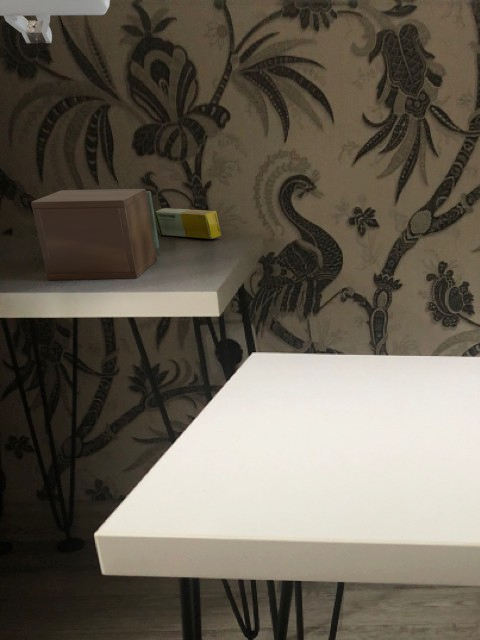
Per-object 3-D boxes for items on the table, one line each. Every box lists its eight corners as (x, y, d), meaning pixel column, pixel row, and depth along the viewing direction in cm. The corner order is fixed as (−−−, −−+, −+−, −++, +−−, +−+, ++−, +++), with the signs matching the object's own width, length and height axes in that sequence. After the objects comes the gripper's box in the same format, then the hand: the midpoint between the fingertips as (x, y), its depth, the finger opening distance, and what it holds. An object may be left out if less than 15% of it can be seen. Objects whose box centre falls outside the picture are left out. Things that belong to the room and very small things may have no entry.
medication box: (159, 236, 154) (153, 210, 152) (171, 232, 156) (165, 207, 153) (211, 239, 148) (205, 213, 146) (222, 235, 150) (217, 209, 148)
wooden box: (75, 262, 133) (61, 190, 128) (157, 260, 133) (145, 188, 129) (48, 280, 121) (30, 202, 116) (137, 278, 122) (123, 200, 117)
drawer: (98, 242, 142) (88, 188, 138) (166, 241, 143) (158, 187, 139) (65, 263, 126) (53, 202, 123) (142, 262, 127) (132, 201, 123)
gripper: (90, -94, 99) (127, 17, 113) (-104, -94, 98) (-44, 18, 111) (88, -48, 98) (125, 59, 111) (-110, -48, 96) (-48, 60, 110)
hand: (39, 39), depth 111 cm, fingers closed
